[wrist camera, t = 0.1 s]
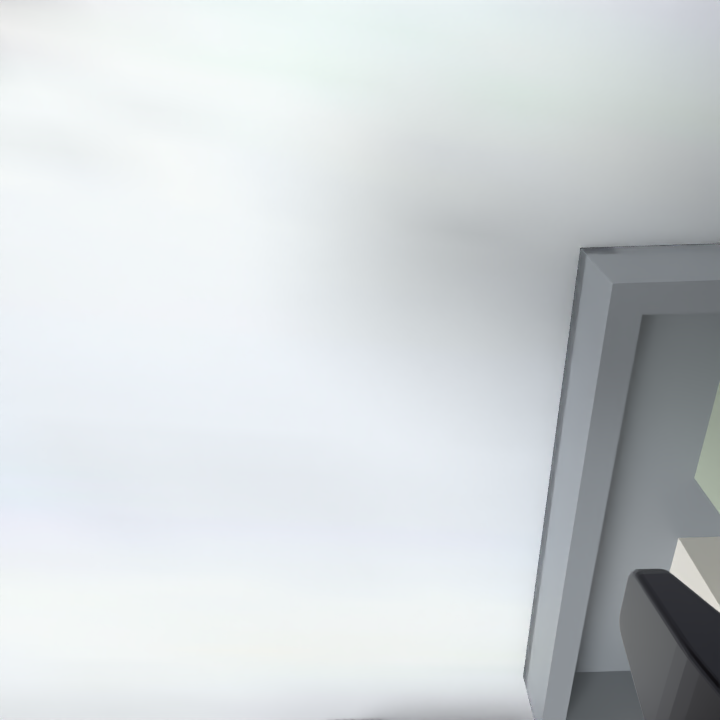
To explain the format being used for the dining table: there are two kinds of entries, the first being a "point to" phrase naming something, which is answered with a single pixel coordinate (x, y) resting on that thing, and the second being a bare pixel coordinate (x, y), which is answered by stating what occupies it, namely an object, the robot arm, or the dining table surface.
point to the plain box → (711, 457)
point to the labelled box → (699, 567)
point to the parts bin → (622, 464)
